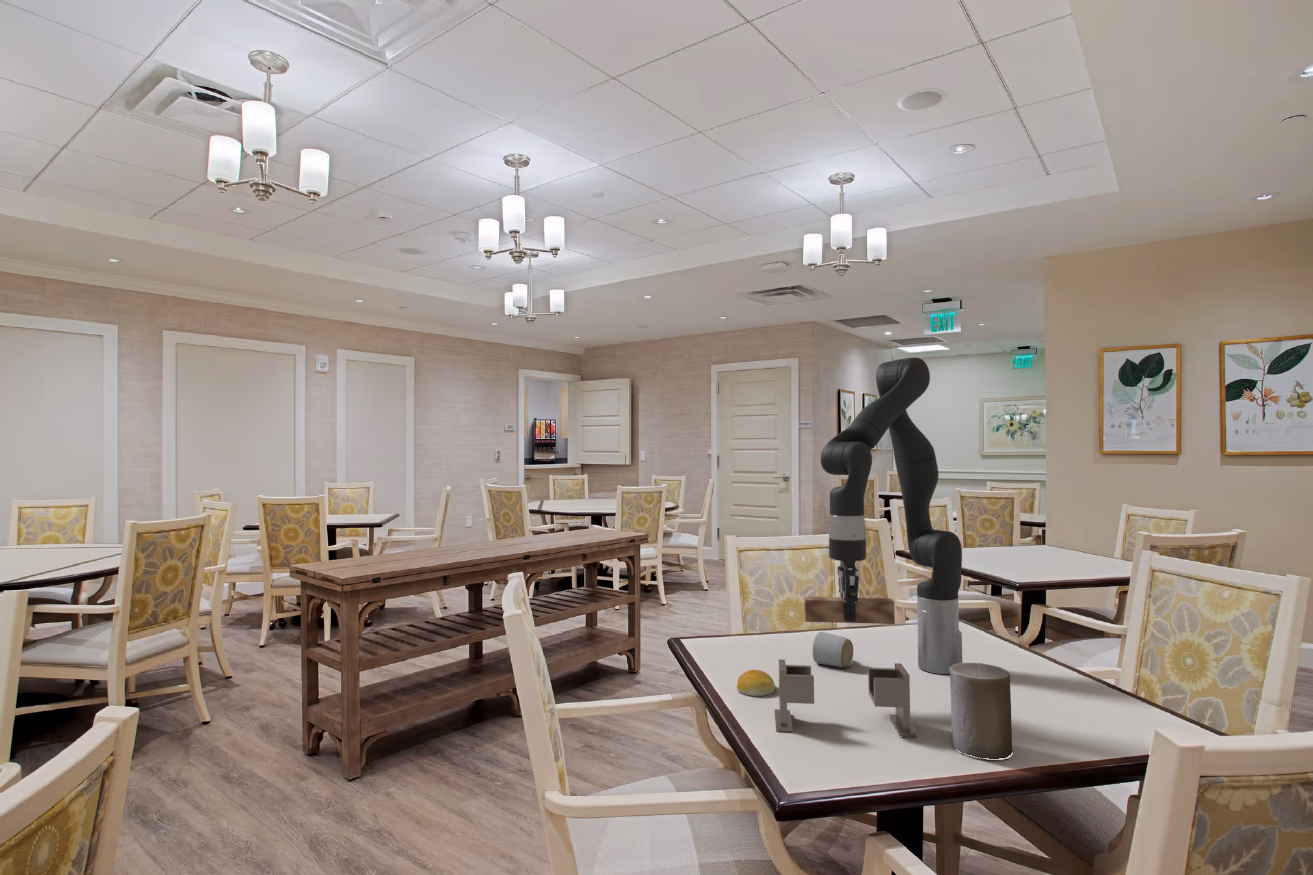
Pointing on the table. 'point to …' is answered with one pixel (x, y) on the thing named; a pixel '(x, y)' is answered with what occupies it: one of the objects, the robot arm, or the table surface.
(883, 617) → the rail
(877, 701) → the brackets
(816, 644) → the ceramic mug
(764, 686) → the bread roll
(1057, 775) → the table surface
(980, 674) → the pillar candle
